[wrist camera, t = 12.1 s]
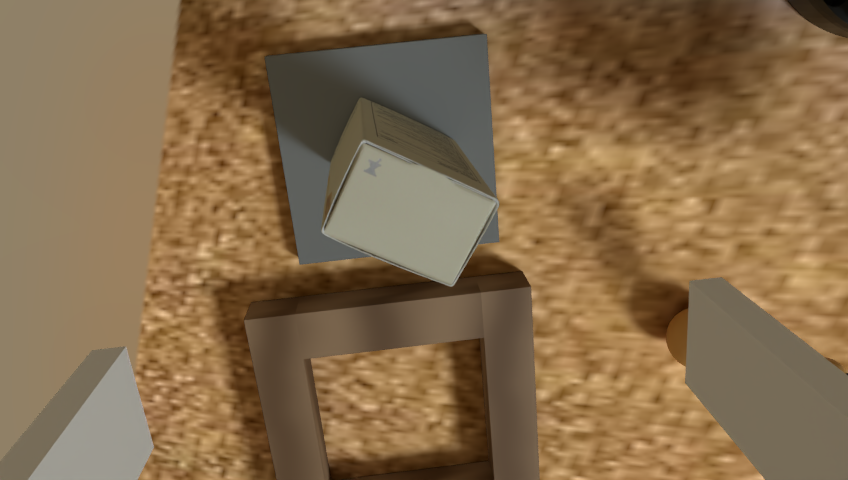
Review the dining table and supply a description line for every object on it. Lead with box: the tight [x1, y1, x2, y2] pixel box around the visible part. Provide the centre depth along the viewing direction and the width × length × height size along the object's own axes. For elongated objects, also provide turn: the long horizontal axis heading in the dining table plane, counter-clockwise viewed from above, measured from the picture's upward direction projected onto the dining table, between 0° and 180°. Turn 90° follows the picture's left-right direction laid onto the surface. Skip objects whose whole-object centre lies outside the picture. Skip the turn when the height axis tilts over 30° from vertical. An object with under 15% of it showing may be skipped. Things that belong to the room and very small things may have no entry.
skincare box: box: [321, 98, 499, 287], centre depth 32 cm, size 6×4×12 cm
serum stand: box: [244, 271, 540, 480], centre depth 43 cm, size 17×17×2 cm
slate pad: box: [265, 34, 499, 265], centre depth 38 cm, size 12×12×1 cm
